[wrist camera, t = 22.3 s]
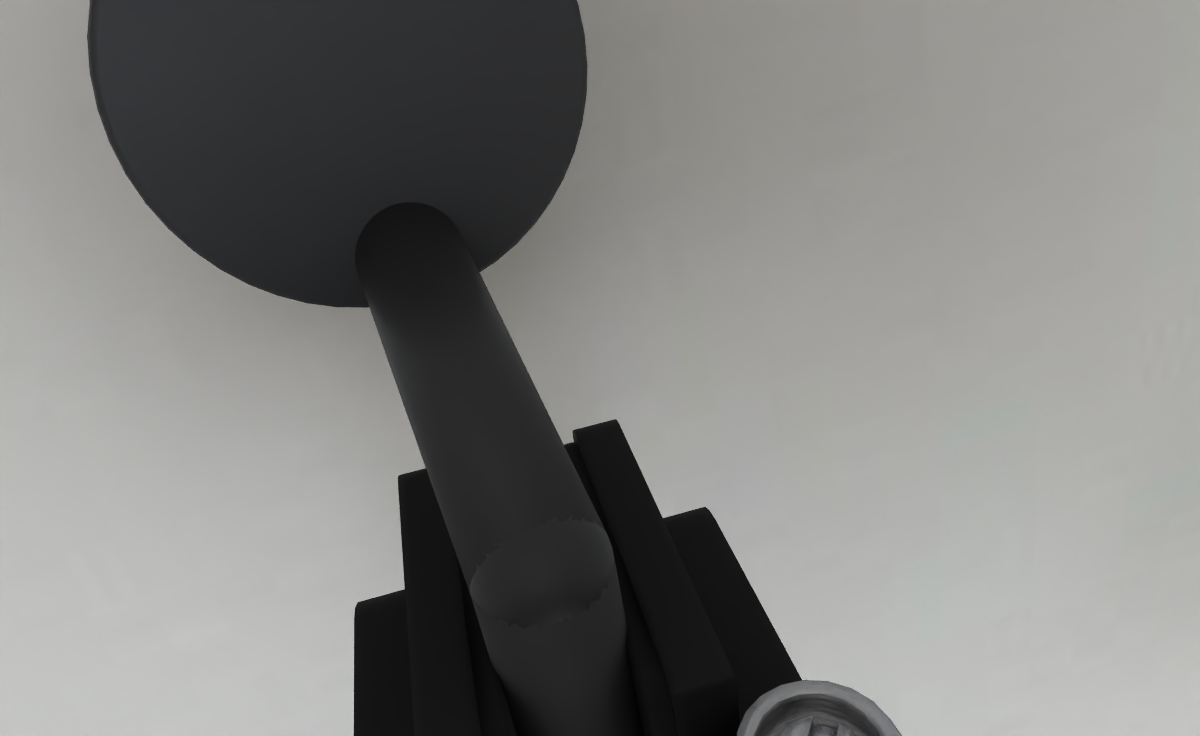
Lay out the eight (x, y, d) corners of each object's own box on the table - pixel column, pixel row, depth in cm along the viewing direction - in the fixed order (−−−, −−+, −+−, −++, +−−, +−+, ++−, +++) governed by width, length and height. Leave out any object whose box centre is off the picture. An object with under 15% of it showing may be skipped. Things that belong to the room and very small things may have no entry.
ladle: (16, -142, 8) (-288, -217, 3) (501, -216, 9) (828, -353, 4) (486, 975, 19) (584, 1363, 14) (687, 876, 20) (845, 1202, 15)
